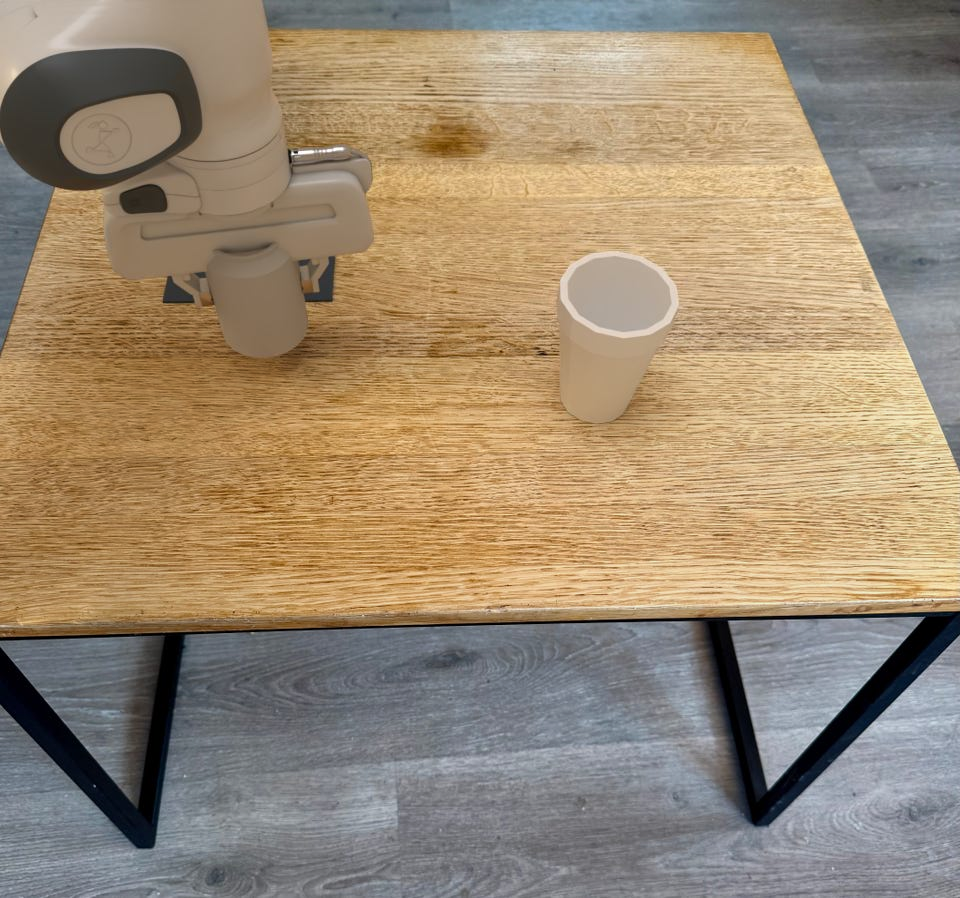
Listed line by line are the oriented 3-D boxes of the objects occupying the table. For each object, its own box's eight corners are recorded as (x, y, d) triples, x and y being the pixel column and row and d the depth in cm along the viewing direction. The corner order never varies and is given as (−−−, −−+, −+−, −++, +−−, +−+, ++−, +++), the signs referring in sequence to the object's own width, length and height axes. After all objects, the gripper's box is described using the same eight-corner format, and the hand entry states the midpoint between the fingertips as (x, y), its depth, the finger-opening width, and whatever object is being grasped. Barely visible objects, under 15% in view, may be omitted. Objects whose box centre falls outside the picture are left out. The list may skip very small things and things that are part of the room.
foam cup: (665, 393, 80) (701, 290, 69) (607, 455, 75) (636, 357, 65) (581, 340, 83) (603, 234, 72) (521, 397, 79) (535, 294, 68)
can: (228, 371, 75) (198, 268, 66) (220, 309, 79) (190, 203, 70) (315, 356, 77) (298, 253, 67) (302, 296, 81) (284, 190, 71)
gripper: (364, 116, 66) (374, 254, 78) (80, 144, 63) (134, 283, 74) (377, 169, 63) (385, 305, 74) (77, 201, 59) (134, 338, 71)
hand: (257, 294), depth 74 cm, fingers closed on can, 7 cm apart
